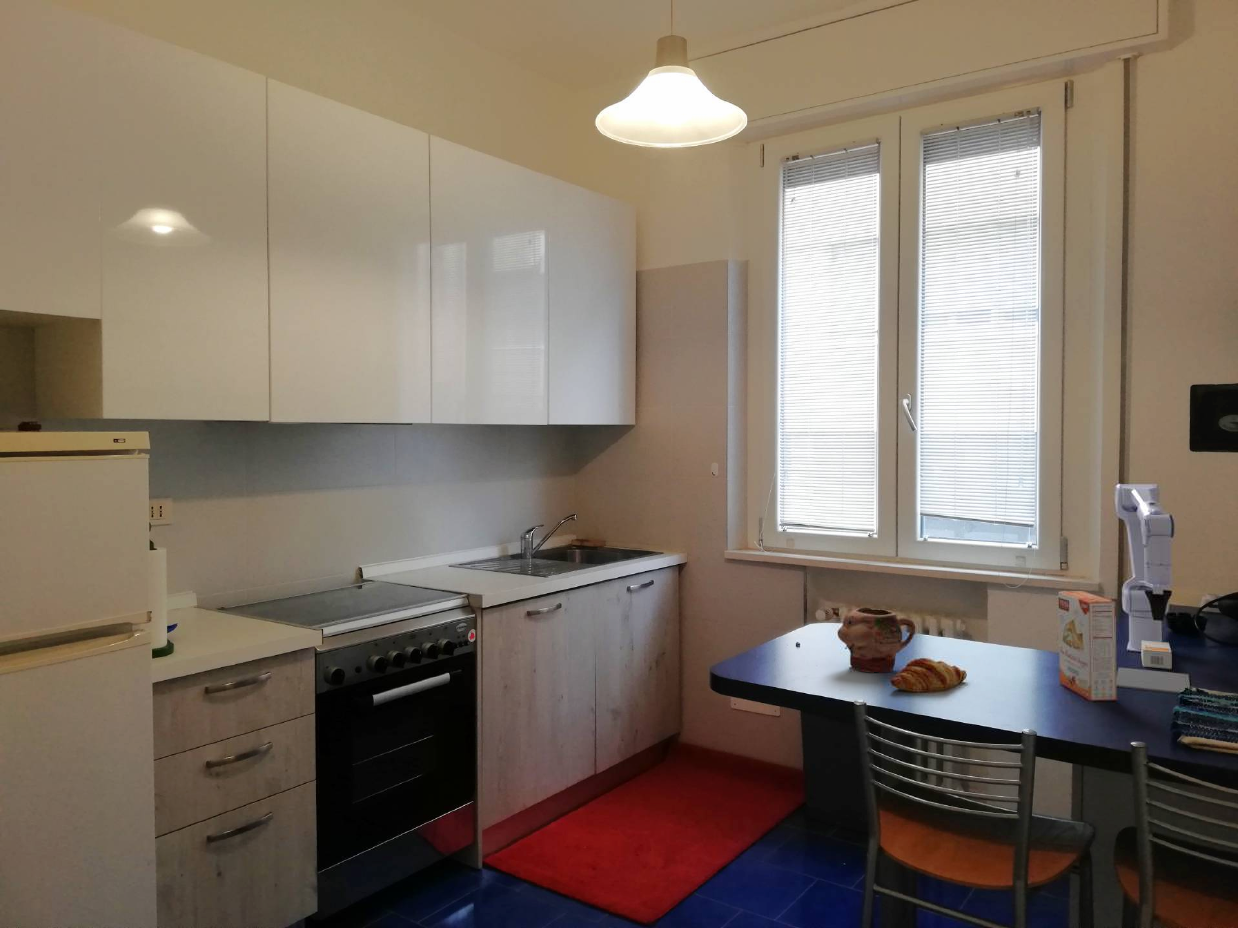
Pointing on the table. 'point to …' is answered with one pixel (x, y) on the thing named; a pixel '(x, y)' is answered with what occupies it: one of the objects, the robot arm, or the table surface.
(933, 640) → the table surface
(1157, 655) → the skincare box
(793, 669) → the table surface
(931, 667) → the croissant
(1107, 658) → the cracker box
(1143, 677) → the rubber mat
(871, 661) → the brown sculpted mug
